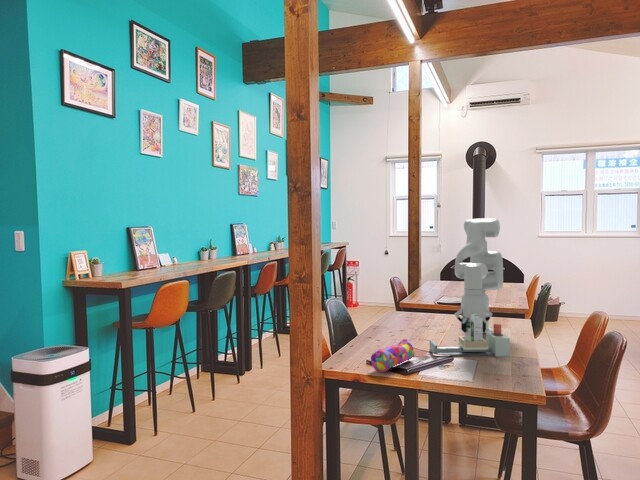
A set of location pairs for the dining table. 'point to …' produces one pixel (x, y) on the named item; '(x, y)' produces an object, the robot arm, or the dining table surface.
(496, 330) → the button
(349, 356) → the dining table surface
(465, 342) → the carriage
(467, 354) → the rail
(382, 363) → the pencil case
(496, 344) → the housing
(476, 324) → the syrup box
